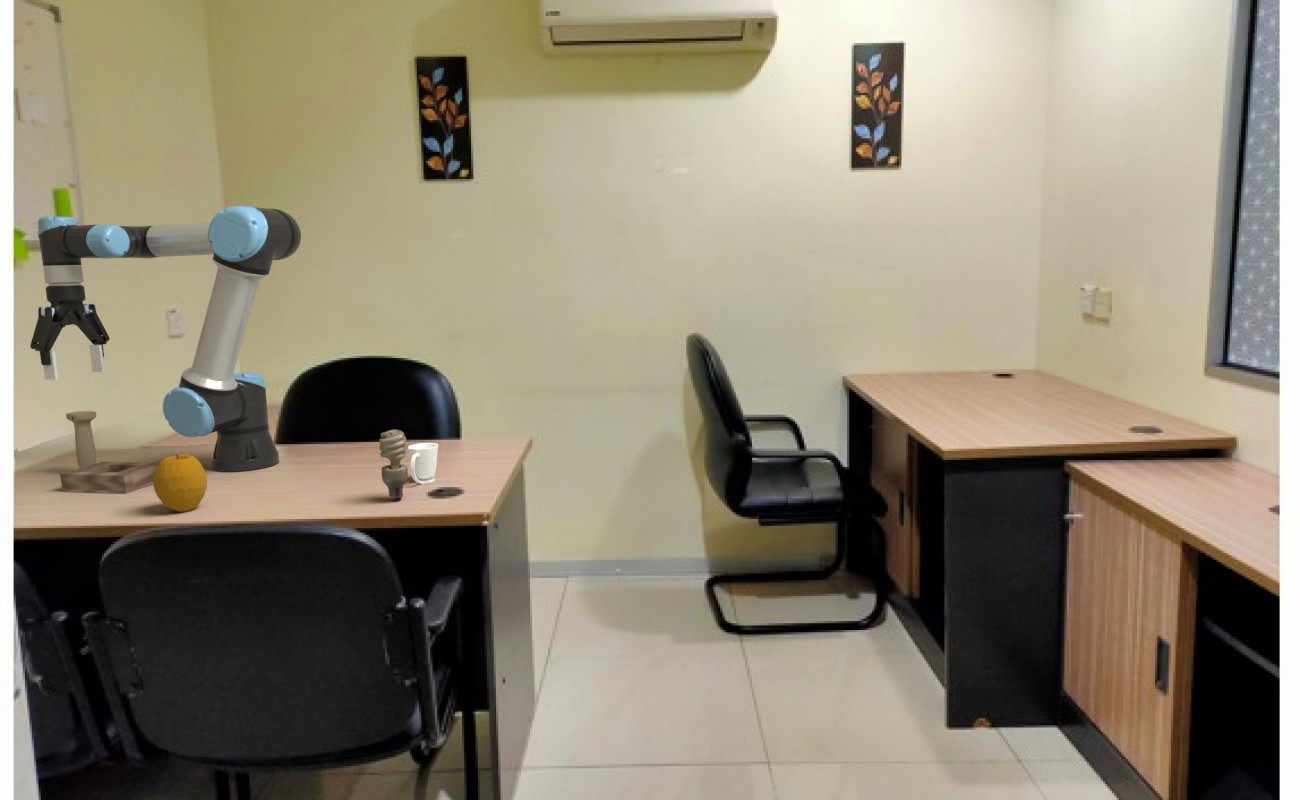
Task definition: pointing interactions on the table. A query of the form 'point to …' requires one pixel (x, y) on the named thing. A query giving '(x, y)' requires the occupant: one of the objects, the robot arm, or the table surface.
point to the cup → (423, 461)
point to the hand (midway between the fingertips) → (75, 375)
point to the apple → (180, 482)
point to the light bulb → (394, 462)
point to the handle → (83, 437)
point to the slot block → (109, 477)
